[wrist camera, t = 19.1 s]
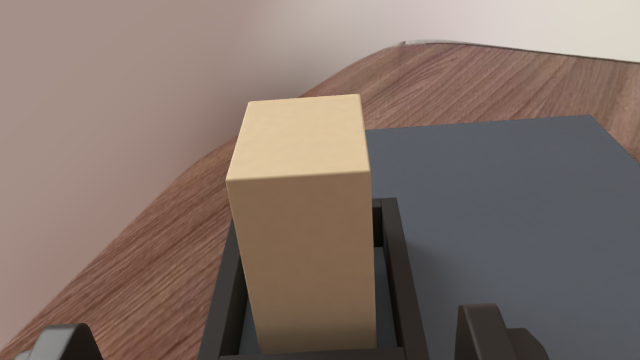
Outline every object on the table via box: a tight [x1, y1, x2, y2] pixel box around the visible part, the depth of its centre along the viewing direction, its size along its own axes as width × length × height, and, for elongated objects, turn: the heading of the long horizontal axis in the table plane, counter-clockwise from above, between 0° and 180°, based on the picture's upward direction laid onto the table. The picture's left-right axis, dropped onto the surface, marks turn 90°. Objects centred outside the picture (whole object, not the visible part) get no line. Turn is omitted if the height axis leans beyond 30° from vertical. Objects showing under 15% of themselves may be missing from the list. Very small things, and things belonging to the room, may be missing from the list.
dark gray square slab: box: [197, 115, 640, 360], centre depth 28 cm, size 24×23×4 cm
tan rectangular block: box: [225, 94, 377, 354], centre depth 21 cm, size 4×6×9 cm
